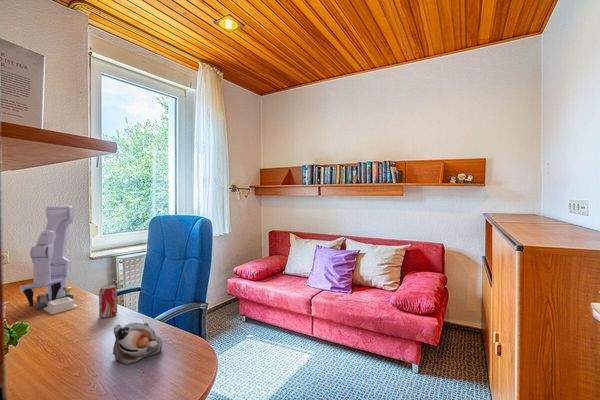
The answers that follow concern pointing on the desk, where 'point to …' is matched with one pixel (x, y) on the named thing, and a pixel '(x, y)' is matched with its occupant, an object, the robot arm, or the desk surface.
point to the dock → (60, 305)
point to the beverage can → (107, 301)
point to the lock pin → (67, 291)
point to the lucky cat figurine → (135, 342)
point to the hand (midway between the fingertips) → (42, 303)
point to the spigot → (42, 301)
